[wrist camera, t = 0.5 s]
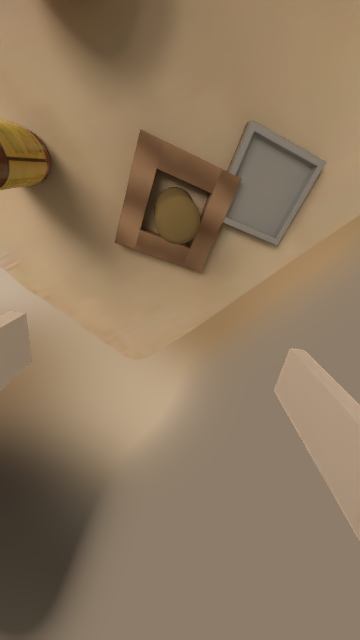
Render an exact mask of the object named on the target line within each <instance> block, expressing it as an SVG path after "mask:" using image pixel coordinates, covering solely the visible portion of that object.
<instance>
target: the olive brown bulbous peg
mask: <svg viewBox="0 0 360 640" xmlns="http://www.w3.org/2000/svg"><path fill="white" fill-rule="evenodd" d="M154 212H155V225H156V228H157V231H158V233H159V234H160V236H161V237H162V238H163V239H164V240H166V241H167V242H169V243H172V244H184V243H186V242H189V241H190V240H191V239H192V238H194V236H195V235H196V233H197V232H198V229H199V226H200V214H199V210H198V208H197V206H196V205H195V203H194V202H193V200H192V198H191V197H190V195H189V194H188V193H187V192H186V191H185V190H183V189H181V188H178V187H170V188H168V189H165V190H164V191H162V192H161V193H160V194H159V196H158V197H157V199H156V201H155V206H154Z"/></svg>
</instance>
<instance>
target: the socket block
mask: <svg viewBox="0 0 360 640" xmlns="http://www.w3.org/2000/svg"><path fill="white" fill-rule="evenodd" d="M157 169H159V170H161V171H163V172H165V173H167V174H170V175H172V176H174V177H176V178H178V179H181V180H183V181H185V182H187V183H189V184H192V185H194V186H196V187H198V188H201V189H203V190H205V191H207V192H209V193H210V194H209V196H208V199H207V201H206V204H205V206H204V209H203V211H202V214H201V216H200V226H199V229H198V232H197V233H196V235H195V236H194V238H192V239H191V242H190V244H189V245H186V244H172V243H169V242H167V241H166V240H164V239H163V238H162V237H161V236H160V234H157V233H155V232H152V231H150V230H147V229H144V228H142V227H141V225H142V222H143V218H144V215H145V211H146V207H147V204H148V200H149V196H150V193H151V189H152V186H153V182H154V178H155V175H156V171H157ZM241 180H242V179H241V178H239V177H237V176H235V175H233V174H231V173H229V172H227V171H225V170H223V169H221V168H219V167H217V166H215V165H212V164H210V163H208V162H206V161H204V160H202V159H200V158H198V157H196V156H194V155H192V154H190V153H188V152H186V151H184V150H182V149H180V148H178V147H176V146H174V145H172V144H169V143H167V142H165V141H163V140H161V139H159V138H157V137H155V136H153V135H151V134H149V133H147V132H145V131H143V130H141V129H140V134H139V138H138V143H137V147H136V151H135V156H134V160H133V165H132V169H131V173H130V178H129V182H128V187H127V191H126V195H125V200H124V204H123V209H122V213H121V217H120V222H119V226H118V231H117V235H116V239H115V243H118V244H121V245H124V246H126V247H129V248H132V249H135V250H138V251H141V252H143V253H146V254H149V255H152V256H155V257H157V258H160V259H163V260H166V261H169V262H172V263H174V264H177V265H180V266H183V267H186V268H189V269H191V270H194V271H197V272H201V269H202V267H203V265H204V263H205V260H206V258H207V256H208V254H209V252H210V249H211V247H212V245H213V243H214V240H215V238H216V236H217V234H218V231H219V229H220V227H221V225H222V222H223V220H224V218H225V216H226V213H227V211H228V209H229V207H230V204H231V202H232V200H233V198H234V195H235V193H236V191H237V189H238V186H239V184H240V182H241Z"/></svg>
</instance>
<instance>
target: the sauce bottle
mask: <svg viewBox="0 0 360 640" xmlns="http://www.w3.org/2000/svg"><path fill="white" fill-rule="evenodd" d="M49 168H50V158H49V154H48V151H47V150H46V147H45V146H44V145H43V143H42V141H41V140H40V139H39V137H38V136H37V135H36V134H34V133H33V132H31V131H29V130H28V129H26V128H24V127H22V126H20V125H18V124H15V123H11V122H7V121H3V120H0V190H4V189H10V188H16V187H23V186H30V185H35V184H37V183H39V182H40V181H42V180H44V179H45V178H46V177H47V175H48V173H49Z"/></svg>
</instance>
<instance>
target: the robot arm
mask: <svg viewBox="0 0 360 640" xmlns="http://www.w3.org/2000/svg"><path fill="white" fill-rule="evenodd" d="M31 362H32V359H31V350H30V342H29V334H28V325H27V318H26V313H21V312H13V311H8V312H6V313H5V314H2V315H0V391H1V390H2V389H3V388H4V387H5V386H6V385H7V384H8V383H9V382H11V381H12V380H13V379H14V378H15V377H16V376H17V375H18V374H19V373H20V372H21V371H22V370H24V368H26V367H27V366H28V365H29V364H30V363H31ZM274 392H275V394H276V396H277V398H278V399H279V401H280V403H281V405H282V406H283V408H284V410H285V412H286V413H287V415H288V417H289V419H290V420H291V422H292V424H293V426H294V427H295V429H296V431H297V432H298V434H299V436H300V437H301V439H302V441H303V443H304V445H305V446H306V448H307V450H308V452H309V454H310V455H311V457H312V459H313V461H314V462H315V464H316V466H317V467H318V469H319V471H320V473H321V475H322V476H323V478H324V480H325V482H326V483H327V485H328V487H329V489H330V490H331V492H332V494H333V496H334V497H335V499H336V501H337V502H338V504H339V506H340V508H341V510H342V511H343V513H344V515H345V517H346V518H347V520H348V522H349V524H350V525H351V527H352V529H353V531H354V532H355V534H356V536H357V538H358V539H359V541H360V405H359V404H358V403H357V402H356V401H355V400H354V399H353V398H352V397H351V396H350V395H349V394H348V393H347V392H346V391H345V390H344V389H343V388H342V387H341V386H340V385H339V384H338V383H337V382H336V381H335V380H334V379H333V378H332V377H331V376H330V375H329V374H328V373H327V372H326V371H325V370H324V369H323V368H322V367H321V366H320V365H319V364H318V363H317V362H316V361H315V360H314V359H313V358H312V357H311V356H310V355H309V354H308V353H307V352H306V351H305V350H302V349H294V348H290V349H289V352H288V354H287V357H286V359H285V362H284V365H283V367H282V370H281V373H280V375H279V378H278V381H277V383H276V386H275V388H274Z"/></svg>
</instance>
